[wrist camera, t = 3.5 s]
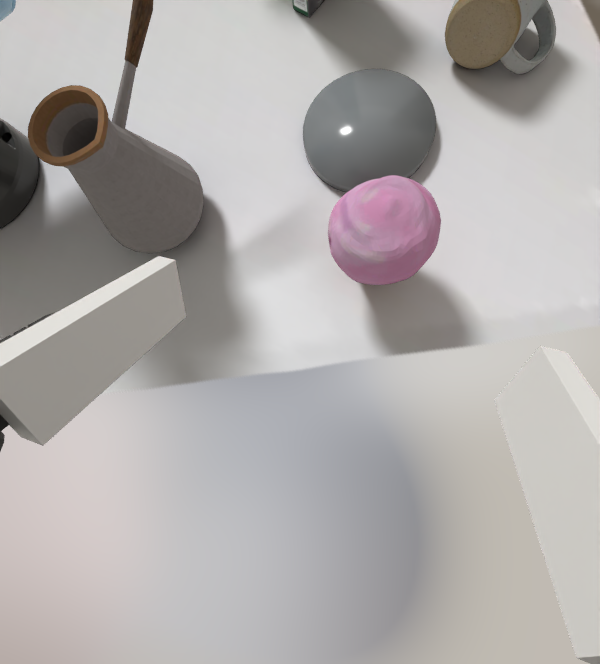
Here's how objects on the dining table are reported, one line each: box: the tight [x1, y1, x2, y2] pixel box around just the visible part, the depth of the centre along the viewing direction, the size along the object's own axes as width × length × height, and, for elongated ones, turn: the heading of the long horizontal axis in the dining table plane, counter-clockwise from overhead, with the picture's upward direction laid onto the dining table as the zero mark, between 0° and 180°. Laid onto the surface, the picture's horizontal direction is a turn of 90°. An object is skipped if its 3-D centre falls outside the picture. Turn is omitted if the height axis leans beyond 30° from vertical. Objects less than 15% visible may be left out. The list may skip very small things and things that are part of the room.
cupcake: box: [328, 175, 441, 285], centre depth 25 cm, size 9×9×10 cm
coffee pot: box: [28, 0, 203, 253], centre depth 26 cm, size 21×12×15 cm, turn 148°
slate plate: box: [303, 69, 436, 192], centre depth 31 cm, size 14×14×1 cm
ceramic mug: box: [445, 0, 556, 74], centre depth 27 cm, size 11×8×8 cm
